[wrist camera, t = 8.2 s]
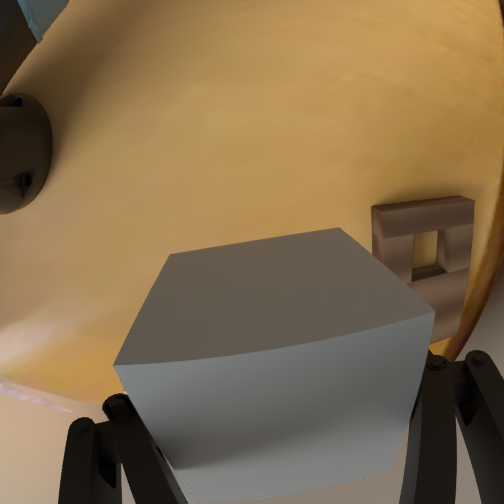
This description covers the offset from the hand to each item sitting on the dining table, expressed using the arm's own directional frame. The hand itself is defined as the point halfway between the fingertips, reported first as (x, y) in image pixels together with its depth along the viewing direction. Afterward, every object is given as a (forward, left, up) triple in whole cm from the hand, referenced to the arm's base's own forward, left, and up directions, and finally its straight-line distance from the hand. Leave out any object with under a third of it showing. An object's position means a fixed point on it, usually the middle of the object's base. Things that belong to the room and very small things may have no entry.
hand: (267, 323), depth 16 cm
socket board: (+9, +21, -18) cm, 29 cm away
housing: (0, 0, -1) cm, 1 cm away
